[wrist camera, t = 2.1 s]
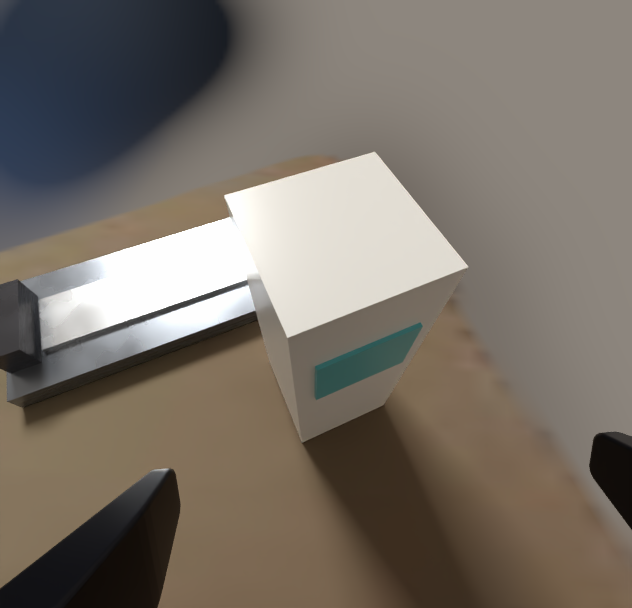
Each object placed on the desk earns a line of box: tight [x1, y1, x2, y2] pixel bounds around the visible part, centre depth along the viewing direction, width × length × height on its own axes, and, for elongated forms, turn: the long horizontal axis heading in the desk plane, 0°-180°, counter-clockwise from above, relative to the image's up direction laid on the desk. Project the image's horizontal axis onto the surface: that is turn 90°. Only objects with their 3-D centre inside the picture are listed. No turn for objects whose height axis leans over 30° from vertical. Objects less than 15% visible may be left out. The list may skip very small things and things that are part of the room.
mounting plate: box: [0, 218, 258, 408], centre depth 23 cm, size 8×22×3 cm, turn 114°
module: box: [224, 152, 468, 443], centre depth 16 cm, size 5×5×13 cm
